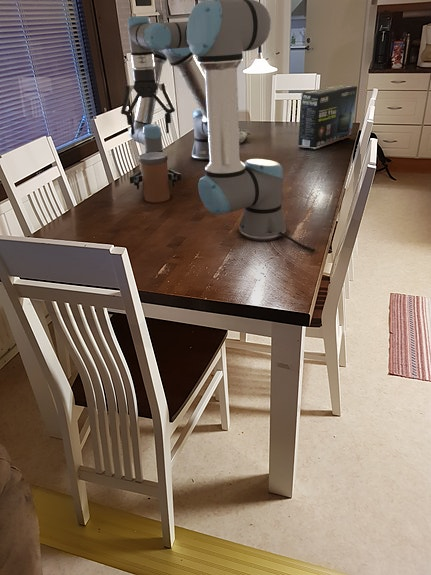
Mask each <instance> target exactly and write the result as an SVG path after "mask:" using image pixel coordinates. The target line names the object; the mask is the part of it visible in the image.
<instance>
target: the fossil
mask: <svg viewBox="0 0 431 575" xmlns="http://www.w3.org/2000/svg"><path fill="white" fill-rule="evenodd" d="M248 135H250V136H251V132H250V130H248V129H245V128H243V129H242V128H240V127H239V141H243V142H245V141H246V140H247V138H248V137H247V136H248ZM245 139H246V140H245ZM244 140H245V141H244ZM241 144H242V142H239V145H241Z"/></svg>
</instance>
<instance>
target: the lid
mask: <svg viewBox="0 0 431 575" xmlns="http://www.w3.org/2000/svg"><path fill="white" fill-rule="evenodd" d="M168 158H169V157H168V153H166V152H164V151H163V152H149V153H146V152H145V153H142V154H140V155H138V162H139V164H140V163H142V164H159V163H163V162H166V161H167V162H168V160H169V159H168Z"/></svg>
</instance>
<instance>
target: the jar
mask: <svg viewBox="0 0 431 575" xmlns="http://www.w3.org/2000/svg"><path fill="white" fill-rule="evenodd" d="M139 164H140V170H141V173H142V188H143V196H144V200H145V201H146V202H149V203H163V202H166V201H168V200H170V199H171V192H170V180H169V179H168V169H169V168H168V160H167V161H166V162H163V163H159V164H142V163H140V162H139Z"/></svg>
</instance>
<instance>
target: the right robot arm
mask: <svg viewBox="0 0 431 575" xmlns="http://www.w3.org/2000/svg"><path fill="white" fill-rule="evenodd" d="M271 30H272V19H271V15H270V12H269V11H268V8H266V7H265V5H264V4H263V3H261V2H260V1H257V0H203V1H200V2H198V3H196V4H195V5H194V6H193V7H192V9H191V11H190V13H189V16H188V20H187V21H172V22H171V21H169V22H151V18H150V17H149V16H148V15H147V16H146V15H144V16H141V15H140V16H129V17H128V18H127V32H128V41H129V48H130V56H131V57H130V58H131V65H132V66H131V67H132V68H133V70H132V75H133V85H131V84H126V85H125V95H124V98H123V102H122V107H121V110H120V114H122V115H124V116H126V122H127V125H128V126H130V127H131V131H132V135H134V134H135V129H134V122H135V120H134V115H133V114H131V113H132V111H133V110H134V108H135V106H136V105H137V104H138V100H139V98H140V97H142V98H146V97H148V98H151V97H154V99H156V103H158V105H159V106H160V107H161V108H162V109H163V111H164V112H165V114H164V121H165V122H164V123H165V132H166V134H169V133H170V128H169V126H170V125H169V124H171V122H172V114H173V113H175V112H176V108H175V105H174V103H173V102H172V99H171V97H170V95H169V93H168V91H167V87H166V83H165V82H163V83H160V84H157V83H156V76H155V70H154V69H153V67H154V54H153V50H154V51H162V50H165V49H176V48H189V49H190V51H191V52H192V53H193V54H194V56H196V57H197V62H198V64H199V66H200V68H201V69H203V71H204V72H203V74H204V76H205V90H206V106H207V123H208V139H209V156H210V161H208V163H207V165H205V167H204V172H205V174H204V176H202V177H201V178H200V179H199V181H198V184H197V189H198V190H197V191H198V194H199V197H200V200H201V202H202V204H203V206H204V207H205V209H206V210H207V211H208V212H209V213H211V214H212V215H215V216H219V215H224V214H226V215H227V214H230V213H232V212H236V211H240V210H243V209H244V211H243V213H242V216H241V218H240V219H241V220H240V221H239V226H238V232H239V235H240V236H241V237H242V238H244V239H247V240H250V241H254V242H271V241H277V240H279V239H281V238H283V237H284V238H286V239H288V240H289V241H291V242H292V243H293V244H296V245H297V246H299V247H300V248H304V249H305V250H309V251H311V252H315V251H316V249H315V248H313V247H310V246H308V245H305V244H303V243H300V242H298V241H297V240H296V239H294V238H292V237H291V236H289V235H287V223H286V221H285V216H284V214H283V210H282V200H283V183H284V174H283V173H284V172H283V171H284V169H283V166H282V164H280V162H278V161H274V160H270V159H265V158H250V159H246V160H245V161H244V162H243V161H241V157H240V156H241V155H240V152H241V151H240V144H239V128H240V123H239V122H240V121H239V118H240V117H239V88H238V67H239V66H240V65H241V63H242V62H243V60H244V55H243V52H249V51H253V50H256V49H258V48H260V47H261V46H263V44H265V42H266V41H267V40H268V38H269V36H270V34H271ZM157 88H159V89H158V90H159V91H161V92H162V94H163V96H164V98H165V100H166V103H167V104H168V106H167V104H165V102H164V101H163V100H162V98H161V97H160V96H159V94H157V93H156V90H157ZM133 90H134V92H136V93H137V94H136V95H135V97H134V99H133V101H132V102H131V104H130V106H129V107H128V103H129V99H130V96H131V92H133ZM127 107H128V109H127Z"/></svg>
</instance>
